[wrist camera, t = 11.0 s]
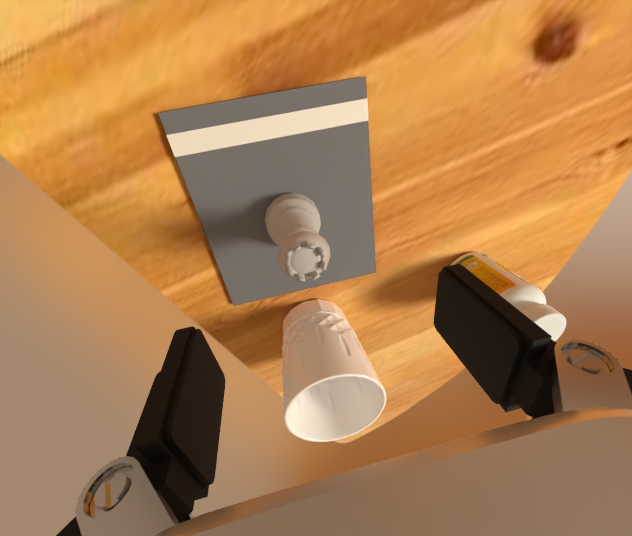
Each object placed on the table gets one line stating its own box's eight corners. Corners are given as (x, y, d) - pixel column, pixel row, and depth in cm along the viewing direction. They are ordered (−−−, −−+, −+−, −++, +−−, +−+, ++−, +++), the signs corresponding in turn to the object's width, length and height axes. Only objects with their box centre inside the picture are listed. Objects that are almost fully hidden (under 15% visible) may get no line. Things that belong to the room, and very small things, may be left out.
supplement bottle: (494, 248, 29) (589, 302, 21) (479, 291, 31) (557, 354, 23) (447, 252, 28) (526, 310, 20) (436, 296, 31) (501, 363, 22)
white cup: (260, 330, 28) (261, 424, 20) (313, 279, 27) (339, 358, 18) (314, 361, 32) (334, 451, 24) (363, 318, 30) (405, 399, 22)
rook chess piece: (276, 250, 24) (284, 305, 17) (255, 202, 22) (254, 244, 15) (325, 232, 24) (351, 280, 17) (309, 183, 22) (332, 215, 15)
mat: (159, 112, 18) (157, 112, 18) (363, 76, 19) (366, 76, 19) (233, 303, 26) (233, 306, 26) (374, 270, 27) (376, 272, 27)
